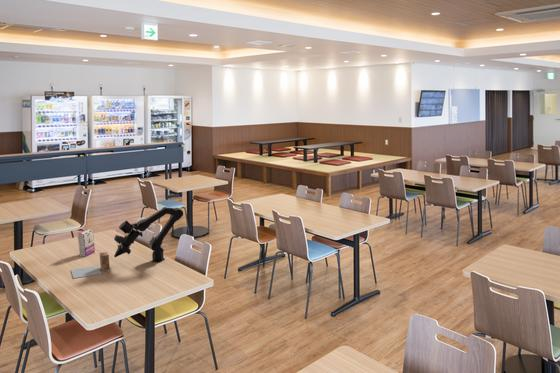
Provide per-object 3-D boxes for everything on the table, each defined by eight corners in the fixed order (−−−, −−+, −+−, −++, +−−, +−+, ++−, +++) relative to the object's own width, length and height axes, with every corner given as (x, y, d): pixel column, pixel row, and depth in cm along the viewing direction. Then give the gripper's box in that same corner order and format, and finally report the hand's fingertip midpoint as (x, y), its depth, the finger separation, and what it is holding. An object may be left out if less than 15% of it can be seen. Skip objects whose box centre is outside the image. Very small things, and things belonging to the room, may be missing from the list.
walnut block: (108, 266, 312) (106, 252, 310) (109, 270, 305) (108, 255, 304) (100, 268, 309) (99, 253, 308) (102, 271, 303) (101, 256, 302)
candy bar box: (88, 251, 343) (86, 229, 340) (95, 251, 342) (93, 229, 339) (79, 256, 332) (77, 233, 329) (85, 257, 331) (83, 233, 328)
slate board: (97, 266, 313) (97, 265, 313) (101, 273, 299) (101, 273, 299) (71, 270, 305) (70, 269, 305) (73, 278, 292) (73, 278, 291)
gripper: (118, 227, 317) (102, 245, 313) (124, 234, 300) (106, 253, 297) (131, 236, 322) (115, 255, 319) (137, 244, 305) (121, 263, 302)
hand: (114, 256), depth 309 cm, fingers closed
